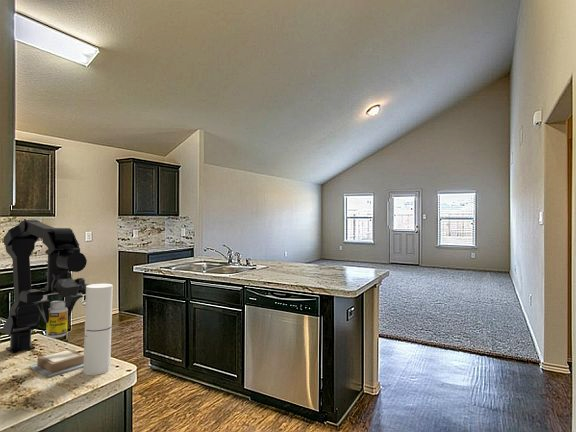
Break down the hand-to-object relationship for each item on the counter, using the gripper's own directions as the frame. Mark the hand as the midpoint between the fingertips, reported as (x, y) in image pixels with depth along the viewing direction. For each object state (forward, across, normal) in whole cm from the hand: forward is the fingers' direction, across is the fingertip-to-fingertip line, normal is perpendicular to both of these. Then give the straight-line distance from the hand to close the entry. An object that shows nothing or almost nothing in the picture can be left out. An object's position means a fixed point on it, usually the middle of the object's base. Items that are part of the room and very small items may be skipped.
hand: (57, 320), depth 116 cm
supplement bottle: (+5, 0, 0) cm, 5 cm away
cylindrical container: (+14, +5, -13) cm, 20 cm away
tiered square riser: (+13, 0, -2) cm, 14 cm away
